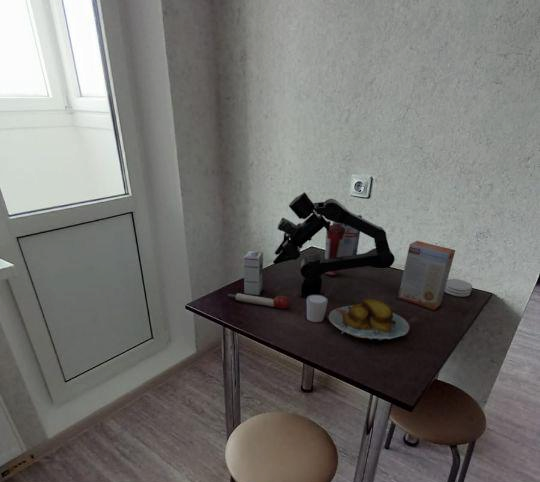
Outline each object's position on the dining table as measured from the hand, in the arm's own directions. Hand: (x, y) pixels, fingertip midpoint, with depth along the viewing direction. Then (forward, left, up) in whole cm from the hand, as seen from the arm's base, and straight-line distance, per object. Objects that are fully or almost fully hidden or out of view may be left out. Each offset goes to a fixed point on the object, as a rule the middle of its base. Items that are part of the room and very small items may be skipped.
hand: (274, 258), depth 143 cm
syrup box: (+7, +2, -14) cm, 15 cm away
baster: (+2, +11, -13) cm, 17 cm away
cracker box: (-52, -12, -14) cm, 55 cm away
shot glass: (-19, +14, -14) cm, 27 cm away
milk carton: (-20, -43, -14) cm, 50 cm away
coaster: (-66, -27, -14) cm, 73 cm away
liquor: (-17, -26, -14) cm, 34 cm away
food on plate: (-36, +14, -14) cm, 41 cm away
